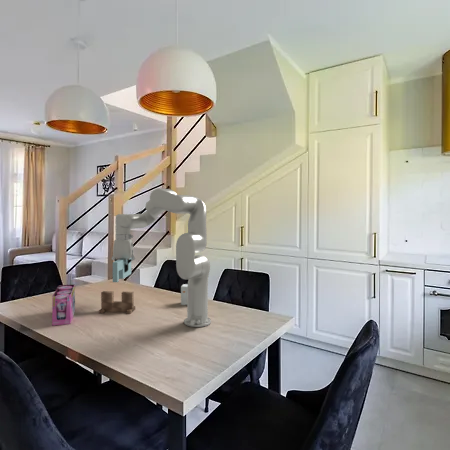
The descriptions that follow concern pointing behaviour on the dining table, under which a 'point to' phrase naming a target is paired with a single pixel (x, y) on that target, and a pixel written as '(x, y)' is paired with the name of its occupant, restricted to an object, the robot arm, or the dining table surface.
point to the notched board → (120, 270)
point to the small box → (184, 294)
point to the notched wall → (117, 302)
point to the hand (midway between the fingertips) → (123, 271)
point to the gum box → (63, 305)
